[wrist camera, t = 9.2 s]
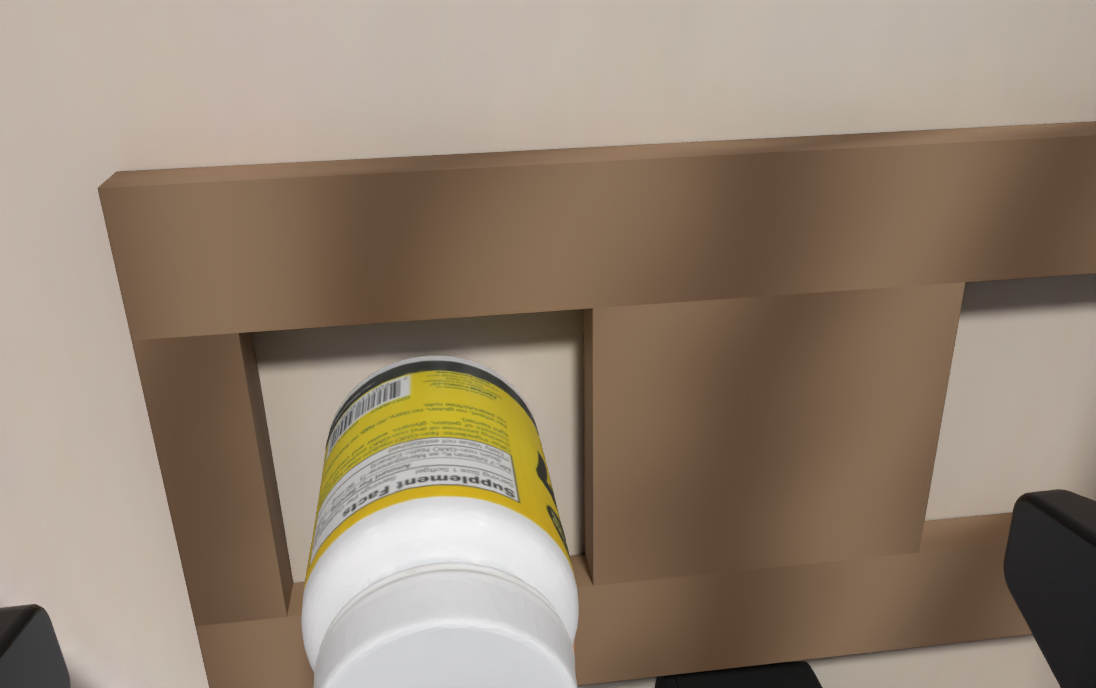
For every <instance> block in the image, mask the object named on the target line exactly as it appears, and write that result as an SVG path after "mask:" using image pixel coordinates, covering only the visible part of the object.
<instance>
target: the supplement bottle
mask: <svg viewBox="0 0 1096 688" xmlns="http://www.w3.org/2000/svg"><path fill="white" fill-rule="evenodd" d="M578 616H579V604H578V591H577V584H576V580H575V576H574V572H573V568H572V564H571V560H570V556H569V552H568V548H567V544H566V539H565V535H564V531H563V528H562V525H561V521H560V517H559V513H558V509H557V505H556V501H555V497H554V493H553V489H552V485H551V480H550V476H549V472H548V468H547V464H546V460H545V456H544V453H543V449H542V445H541V441H540V438H539V434H538V430H537V427H536V423H535V421H534V418H533V415H532V413H531V411H530V409H529V407H528V405H527V403H526V402H525V400H524V399H523V397H522V396H521V394H520V393H519V392H518V391H517V390H516V389H515V387H514V386H513V385H512V384H511V383H509V382H508V381H507V380H506V379H505V378H503V377H502V376H501V375H499V374H498V373H496V372H495V371H493V370H491V369H490V368H488V367H486V366H483V365H481V364H479V363H476V362H473V361H470V360H467V359H463V358H458V357H451V356H421V357H415V358H409V359H405V360H401V361H398V362H395V363H392V364H390V365H387V366H385V367H383V368H381V369H379V370H377V371H376V372H374V373H372V374H371V375H370V376H368V377H367V378H365V379H364V380H363V381H362V382H360V383H359V384H358V385H357V386H356V387H355V388H354V389H353V390H352V391H351V392H350V393H349V394H348V396H347V397H346V398H345V400H344V401H343V403H342V404H341V406H340V407H339V409H338V411H337V413H336V415H335V417H334V419H333V422H332V425H331V428H330V431H329V436H328V440H327V444H326V452H325V460H324V467H323V473H322V481H321V487H320V493H319V501H318V506H317V512H316V519H315V525H314V531H313V537H312V543H311V548H310V554H309V560H308V566H307V573H306V579H305V585H304V593H303V604H302V616H301V624H302V635H303V641H304V647H305V651H306V654H307V657H308V660H309V663H310V666H311V668H312V670H313V672H314V687H313V688H578V686H577V680H576V674H575V657H574V651H573V647H572V646H573V643H574V640H575V635H576V631H577V626H578Z"/></svg>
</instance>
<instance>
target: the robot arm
mask: <svg viewBox="0 0 1096 688" xmlns="http://www.w3.org/2000/svg"><path fill="white" fill-rule="evenodd" d="M1003 570H1004V577H1005V581H1006V584H1007V587H1008V589H1009V591H1010V593H1011V595H1012V597H1013V599H1014V601H1015V603H1016V605H1017V606H1018V608H1019V610H1020V612H1021V614H1022V616H1023V618H1024V619H1025V621H1026V623H1027V625H1028V627H1029V629H1030V631H1031V633H1032V634H1033V636H1034V638H1035V640H1036V642H1037V644H1038V646H1039V648H1040V649H1041V651H1042V653H1043V655H1044V657H1045V659H1046V661H1047V662H1048V664H1049V666H1050V668H1051V670H1052V672H1053V674H1054V676H1055V677H1056V679H1057V681H1058V683H1059V685H1060V687H1061V688H1096V501H1093V500H1091V499H1088V498H1086V497H1083V496H1080V495H1078V494H1075V493H1073V492H1070V491H1067V490H1060V489H1058V490H1048V491H1040V492H1031V493H1025V494H1024V495H1022V496H1020V497H1019V498H1018V500H1017V501H1016V503H1015V505H1014V509H1013V514H1012V519H1011V524H1010V530H1009V535H1008V540H1007V545H1006V551H1005V556H1004V563H1003ZM0 688H70V677H69V673H68V670H67V667H66V664H65V661H64V658H63V655H62V652H61V649H60V646H59V643H58V640H57V637H56V634H55V631H54V628H53V625H52V622H51V620H50V617H49V615H48V613H47V612H46V611H45V609H44V608H43V607H41V606H38V605H36V604H30V605H21V606H12V607H3V608H0Z"/></svg>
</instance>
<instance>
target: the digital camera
mask: <svg viewBox="0 0 1096 688" xmlns="http://www.w3.org/2000/svg"><path fill="white" fill-rule="evenodd" d="M675 678H676V679H675ZM676 681H677V682H676ZM677 684H678V685H677ZM678 687H679V688H822V686H821V684H820V682H819V681H818V679H817V677H816V675H815V673H814V672H813V670H812V668H811V666H810V665H809V664H808V663H806V662H781V663H772V664H763V665H754V666H745V667H737V668H728V669H719V670H710V671H701V672H692V673H684V674H675V677H674V675H666V676H657V679H656V685H655V688H678Z"/></svg>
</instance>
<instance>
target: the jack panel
mask: <svg viewBox="0 0 1096 688" xmlns="http://www.w3.org/2000/svg"><path fill="white" fill-rule="evenodd" d="M98 192H99V197H100V201H101V205H102V210H103V214H104V219H105V223H106V228H107V232H108V237H109V241H110V246H111V250H112V255H113V259H114V264H115V268H116V273H117V277H118V282H119V286H120V290H121V295H122V299H123V304H124V308H125V313H126V317H127V322H128V326H129V331H130V335H131V340H132V344H133V349H134V353H135V358H136V362H137V366H138V371H139V375H140V380H141V384H142V389H143V393H144V398H145V402H146V407H147V411H148V416H149V420H150V425H151V429H152V434H153V438H154V443H155V447H156V451H157V456H158V460H159V465H160V469H161V474H162V478H163V483H164V487H165V492H166V496H167V501H168V505H169V510H170V514H171V519H172V523H173V527H174V532H175V536H176V541H177V545H178V550H179V554H180V559H181V563H182V568H183V572H184V577H185V581H186V586H187V590H188V595H189V599H190V604H191V608H192V612H193V617H194V621H195V626H196V630H197V635H198V639H199V644H200V648H201V653H202V657H203V662H204V666H205V671H206V675H207V680H208V684H209V688H313V687H314V672H313V670H312V668H311V666H310V663H309V660H308V657H307V654H306V651H305V647H304V641H303V635H302V624H301V616H302V604H303V593H304V585H305V582H299V583H293V579H292V573H291V567H290V561H289V555H288V549H287V543H286V536H285V530H284V524H283V518H282V512H281V506H280V500H279V494H278V488H277V482H276V476H275V470H274V464H273V458H272V452H271V446H270V440H269V434H268V428H267V422H266V415H265V409H264V403H263V397H262V391H261V385H260V379H259V373H258V367H257V361H256V355H255V349H254V343H253V337H252V332H260V331H274V330H288V329H303V328H317V327H331V326H346V325H360V324H374V323H389V322H403V321H417V320H432V319H446V318H460V317H475V316H489V315H503V314H518V313H532V312H546V311H560V310H575V309H583V324H584V473H585V555H574V556H570V560H571V564H572V568H573V572H574V576H575V580H576V584H577V591H578V604H579V616H578V626H577V631H576V635H575V640H574V643H573V646H572V647H573V651H574V657H575V674H576V680H577V685H586V684H595V683H604V682H613V681H622V680H630V679H639V678H648V677H657V676H666V675H675V674H684V673H692V672H701V671H710V670H719V669H728V668H737V667H745V666H754V665H763V664H772V663H781V662H790V661H798V660H807V659H816V658H825V657H834V656H843V655H852V654H860V653H869V652H878V651H887V650H896V649H905V648H913V647H922V646H931V645H940V644H949V643H958V642H967V641H975V640H984V639H993V638H1002V637H1011V636H1020V635H1028V634H1032V633H1031V631H1030V629H1029V627H1028V625H1027V623H1026V621H1025V619H1024V618H1023V616H1022V614H1021V612H1020V610H1019V608H1018V606H1017V605H1016V603H1015V601H1014V599H1013V597H1012V595H1011V593H1010V591H1009V589H1008V587H1007V584H1006V581H1005V577H1004V570H1003V563H1004V556H1005V551H1006V545H1007V540H1008V535H1009V530H1010V524H1011V519H1012V514H1013V513H1003V514H993V515H982V516H972V517H962V518H952V519H942V520H931V521H924V520H925V514H926V509H927V503H928V497H929V491H930V485H931V480H932V474H933V468H934V462H935V456H936V450H937V445H938V439H939V433H940V427H941V421H942V415H943V410H944V404H945V398H946V392H947V386H948V380H949V375H950V369H951V363H952V357H953V351H954V346H955V340H956V334H957V328H958V322H959V316H960V311H961V305H962V299H963V293H964V287H965V282H976V281H990V280H1005V279H1019V278H1033V277H1048V276H1062V275H1076V274H1091V273H1096V122H1076V123H1056V124H1037V125H1017V126H998V127H978V128H959V129H939V130H920V131H900V132H881V133H861V134H842V135H822V136H803V137H783V138H764V139H744V140H725V141H705V142H686V143H666V144H647V145H627V146H608V147H588V148H568V149H549V150H529V151H510V152H490V153H471V154H451V155H432V156H412V157H393V158H373V159H354V160H334V161H315V162H295V163H276V164H256V165H237V166H217V167H198V168H178V169H159V170H139V171H120V172H116V173H114V174H113V175H112V176H111V177H110V178H109V179H107V180H106V181H105V182H104V183H103V184H102V185H101V186H99V187H98Z"/></svg>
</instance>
